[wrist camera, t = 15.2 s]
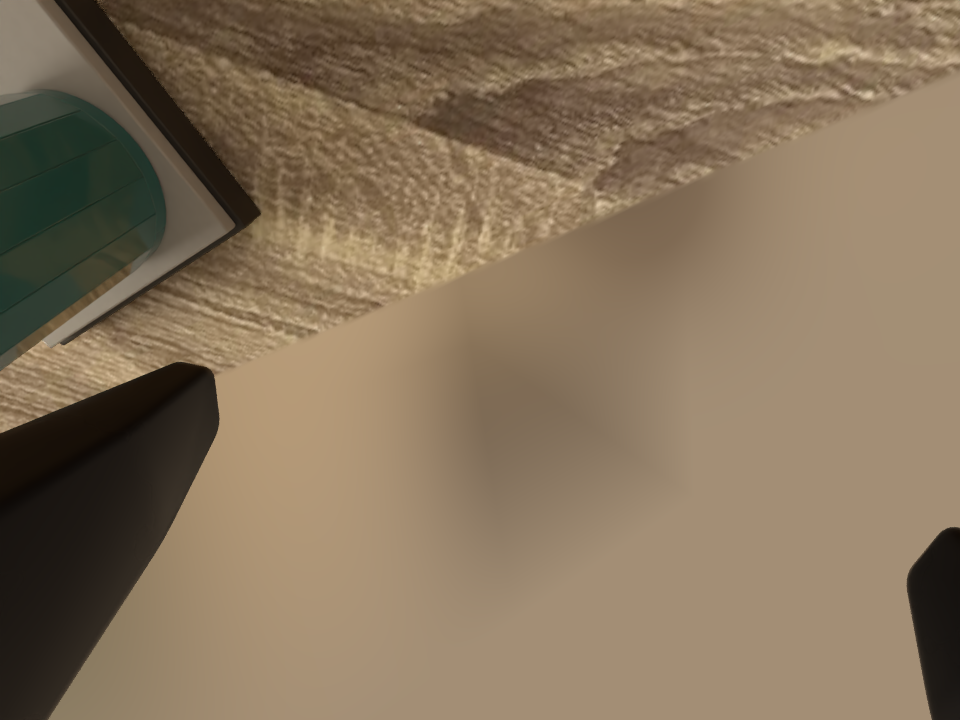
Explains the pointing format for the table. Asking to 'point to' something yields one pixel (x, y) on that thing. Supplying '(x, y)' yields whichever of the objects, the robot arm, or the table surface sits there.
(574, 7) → the table surface
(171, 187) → the scale
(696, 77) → the table surface
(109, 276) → the tumbler
